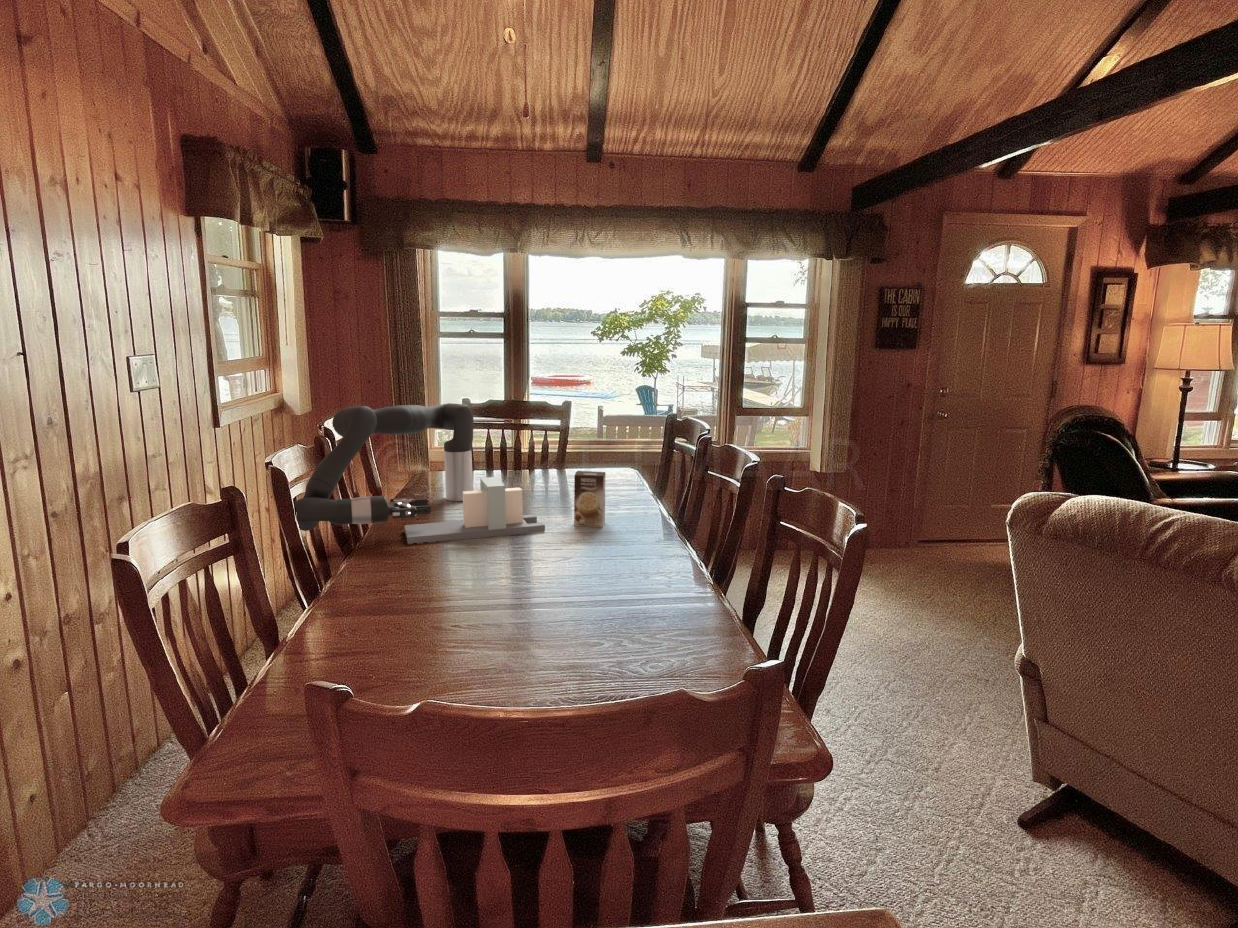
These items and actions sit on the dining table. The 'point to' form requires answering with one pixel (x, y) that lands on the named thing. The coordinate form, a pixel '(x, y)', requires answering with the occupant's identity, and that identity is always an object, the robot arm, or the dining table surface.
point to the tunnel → (495, 502)
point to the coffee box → (589, 499)
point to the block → (478, 507)
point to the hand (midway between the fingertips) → (429, 505)
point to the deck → (467, 530)
